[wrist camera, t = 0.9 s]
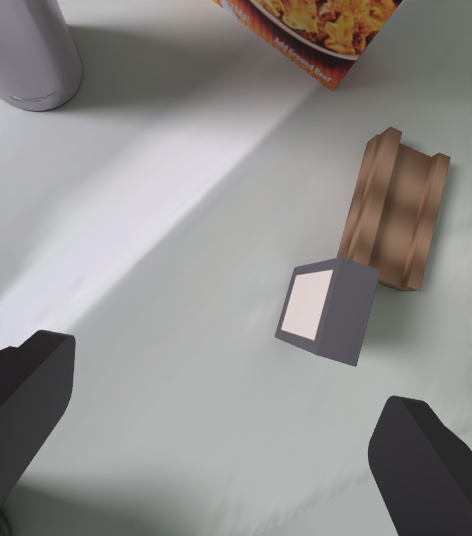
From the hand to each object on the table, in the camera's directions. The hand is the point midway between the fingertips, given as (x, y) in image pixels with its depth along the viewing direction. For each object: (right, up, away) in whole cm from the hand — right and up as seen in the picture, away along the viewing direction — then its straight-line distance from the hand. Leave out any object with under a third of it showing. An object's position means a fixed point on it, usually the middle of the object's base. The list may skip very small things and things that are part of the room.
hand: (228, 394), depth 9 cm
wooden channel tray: (+18, +9, +32) cm, 38 cm away
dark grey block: (+7, -1, +29) cm, 30 cm away
